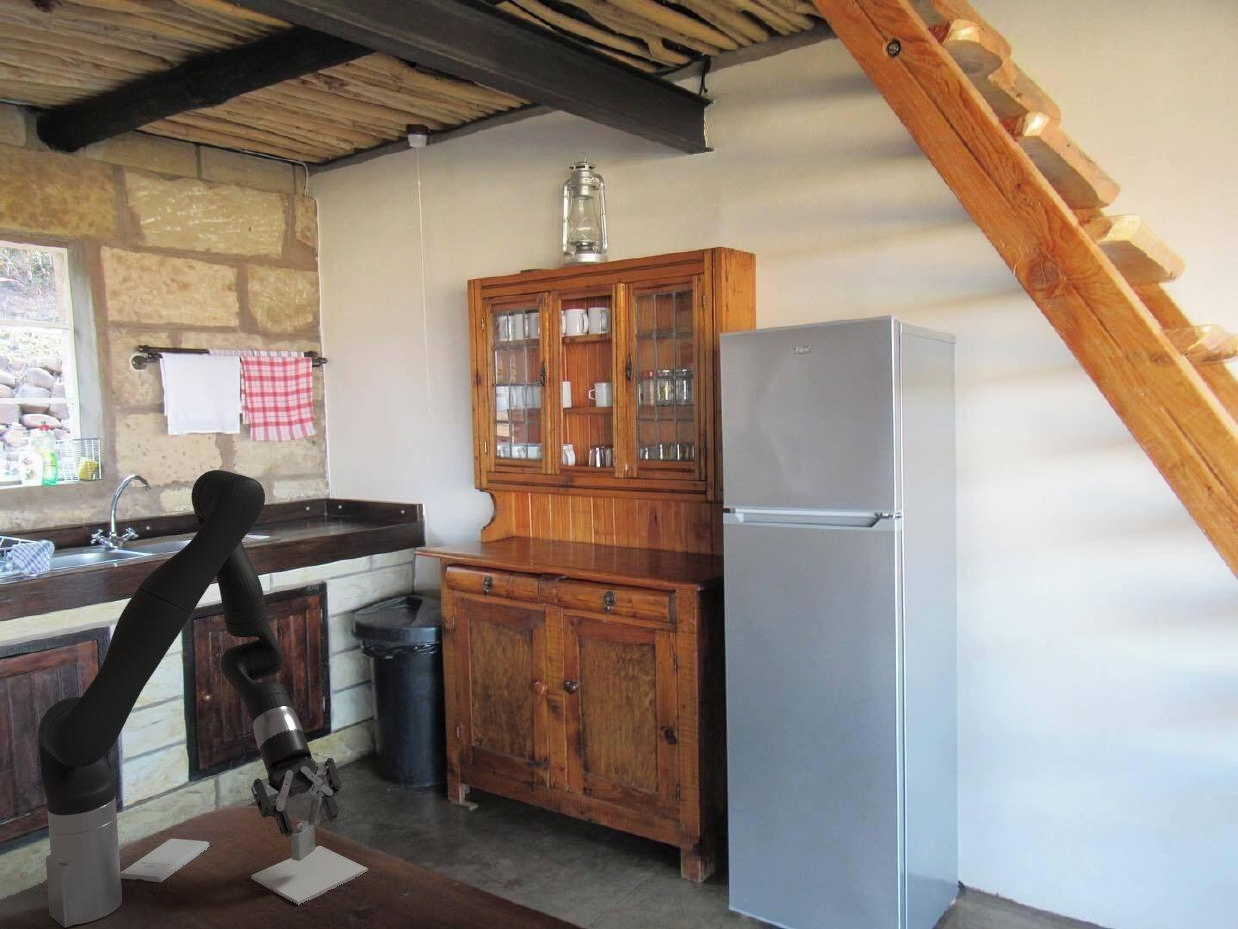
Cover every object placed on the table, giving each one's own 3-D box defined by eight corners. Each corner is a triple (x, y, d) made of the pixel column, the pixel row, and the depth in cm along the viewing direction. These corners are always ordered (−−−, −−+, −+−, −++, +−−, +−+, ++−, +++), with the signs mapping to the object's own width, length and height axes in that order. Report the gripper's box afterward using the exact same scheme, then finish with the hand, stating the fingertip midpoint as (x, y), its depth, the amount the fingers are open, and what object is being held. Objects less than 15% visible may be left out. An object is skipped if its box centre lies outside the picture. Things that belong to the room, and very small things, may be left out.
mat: (298, 905, 146) (298, 901, 146) (251, 879, 155) (251, 875, 155) (368, 872, 156) (367, 868, 156) (319, 848, 165) (319, 845, 165)
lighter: (300, 861, 152) (297, 813, 151) (291, 859, 152) (288, 812, 152) (327, 841, 158) (324, 795, 158) (318, 839, 159) (316, 794, 158)
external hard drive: (209, 850, 167) (160, 885, 154) (169, 847, 168) (118, 881, 156) (209, 841, 166) (160, 876, 154) (169, 838, 168) (118, 872, 156)
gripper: (243, 740, 155) (273, 831, 147) (326, 718, 164) (359, 803, 156) (234, 762, 159) (263, 852, 151) (315, 740, 169) (347, 823, 161)
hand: (312, 827), depth 154 cm, fingers closed on lighter, 7 cm apart
